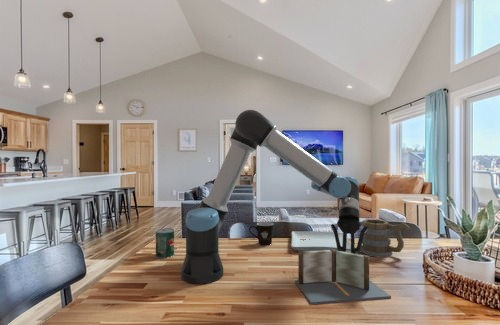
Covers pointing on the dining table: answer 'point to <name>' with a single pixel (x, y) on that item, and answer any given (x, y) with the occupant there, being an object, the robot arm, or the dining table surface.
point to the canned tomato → (164, 243)
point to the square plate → (316, 241)
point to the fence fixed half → (316, 266)
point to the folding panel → (352, 269)
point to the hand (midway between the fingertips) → (348, 270)
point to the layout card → (339, 292)
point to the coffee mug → (264, 232)
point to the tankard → (381, 238)
